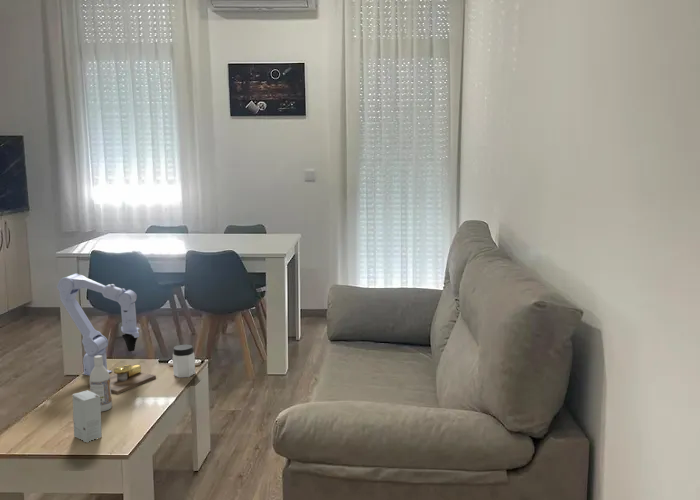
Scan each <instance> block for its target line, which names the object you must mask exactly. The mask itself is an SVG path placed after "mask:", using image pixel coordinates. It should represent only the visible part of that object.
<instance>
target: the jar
mask: <svg viewBox="0 0 700 500" xmlns="http://www.w3.org/2000/svg"><path fill="white" fill-rule="evenodd" d="M172 349H173V350H172V366H173V367H172V369H173V376H175V377H176V378H178V379H179V378H190V377H191V376H193V374H194V375H195V374H196V363H195V362H196V360H195V359H196V358H195V352H194V345H192V344H186V343H185V344H177V345H175V346H173V348H172Z"/></svg>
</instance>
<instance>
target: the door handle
mask: <svg viewBox="0 0 700 500" xmlns="http://www.w3.org/2000/svg"><path fill="white" fill-rule="evenodd" d="M139 372H142V366H141V364H135V365H132V364H125V365H120V366H116V367H114V368H113V373H114V374H124V373H127V377H131V376H133V375H135V374H137V373H139Z"/></svg>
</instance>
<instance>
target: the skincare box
mask: <svg viewBox="0 0 700 500" xmlns="http://www.w3.org/2000/svg"><path fill="white" fill-rule="evenodd" d="M72 413H73V414H72V415H73V416H72V418H73V436H74V437H75V438H76V439H79V440H80V439H81V440H80V441H82V440H83V443H85V442H87V443H90V442H92V441H91V440H93V441H95V440H94V439H96V440H98V439H97V438H99V439H101V438H100V437H102V433H103V432H102V412H101V405H100V396H98V395H96V394H95V393H93V392H91V390H88V389H86V390H83V391H80V392H76V393H72ZM89 441H90V442H89Z"/></svg>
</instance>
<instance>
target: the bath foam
mask: <svg viewBox="0 0 700 500" xmlns="http://www.w3.org/2000/svg"><path fill="white" fill-rule="evenodd" d="M94 365H95V367H94V368H93V370H92V372H91V374H90V376H89V384H90V387H89V388H90V390H89V391H90V392H93V393H95V394H96V395H98V396H100V405H101V413H102V412H105V411H109V410H111V409H112V407H113V401H112V398H113V397H112V393H111V385H110V376H111V375H110V373H109V372H108V371H107V370H108V368H107V369H106V368H105V367H104V366H103V360H102V356H101V355H97V356H94Z"/></svg>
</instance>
